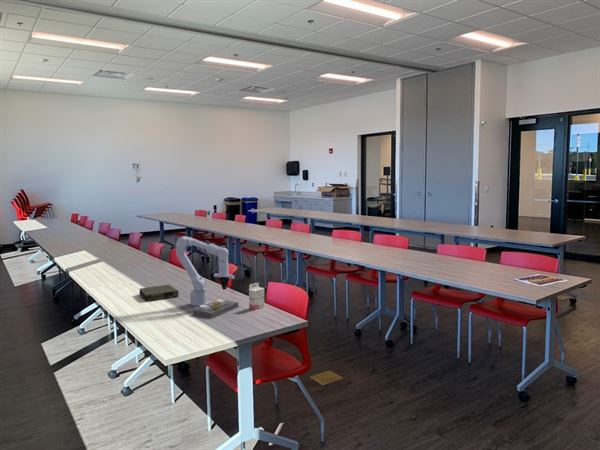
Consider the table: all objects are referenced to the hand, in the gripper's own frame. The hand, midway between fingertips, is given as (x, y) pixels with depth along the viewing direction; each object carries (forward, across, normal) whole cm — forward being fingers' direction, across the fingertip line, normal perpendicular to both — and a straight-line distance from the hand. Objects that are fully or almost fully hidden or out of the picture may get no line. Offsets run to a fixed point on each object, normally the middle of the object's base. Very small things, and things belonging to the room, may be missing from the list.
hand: (224, 289), depth 280 cm
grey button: (+7, +1, -21) cm, 22 cm away
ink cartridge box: (+10, +23, +1) cm, 25 cm away
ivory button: (+7, +2, -7) cm, 10 cm away
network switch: (+10, -53, -4) cm, 54 cm away
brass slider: (+6, +8, -19) cm, 22 cm away
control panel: (+9, +5, -14) cm, 18 cm away
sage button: (+8, +2, -14) cm, 16 cm away
